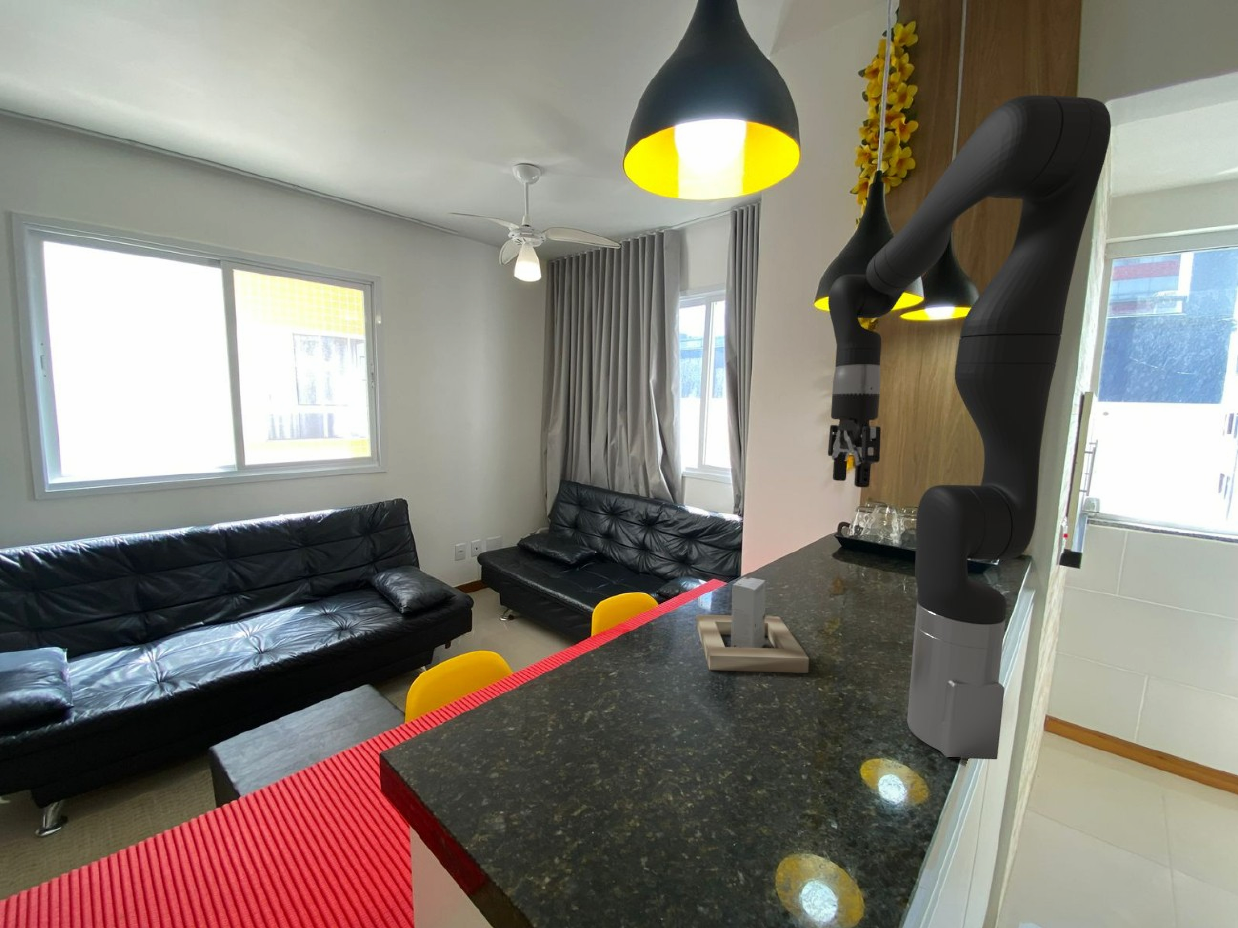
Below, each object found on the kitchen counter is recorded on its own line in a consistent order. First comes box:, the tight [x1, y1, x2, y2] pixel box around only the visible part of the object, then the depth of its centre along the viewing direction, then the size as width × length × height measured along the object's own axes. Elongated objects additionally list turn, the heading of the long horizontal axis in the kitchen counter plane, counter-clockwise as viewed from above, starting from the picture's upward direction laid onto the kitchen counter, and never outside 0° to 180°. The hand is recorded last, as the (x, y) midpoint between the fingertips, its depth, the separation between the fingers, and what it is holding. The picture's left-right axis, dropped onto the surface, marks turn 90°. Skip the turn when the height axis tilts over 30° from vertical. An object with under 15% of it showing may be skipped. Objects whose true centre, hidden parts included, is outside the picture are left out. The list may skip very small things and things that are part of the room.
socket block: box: [696, 614, 810, 674], centre depth 86 cm, size 16×16×2 cm
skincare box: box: [730, 576, 767, 648], centre depth 85 cm, size 6×4×12 cm
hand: (849, 483), depth 85 cm, fingers open, 8 cm apart
